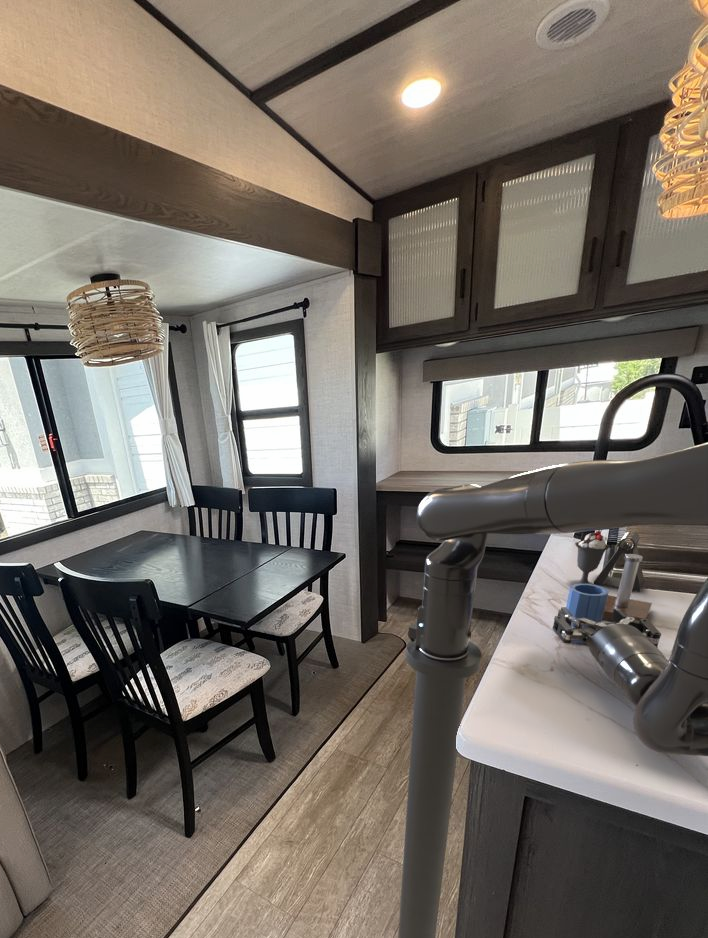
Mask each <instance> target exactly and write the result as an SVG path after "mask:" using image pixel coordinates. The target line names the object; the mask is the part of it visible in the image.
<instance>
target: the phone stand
mask: <svg viewBox="0 0 708 938" xmlns="http://www.w3.org/2000/svg"><path fill="white" fill-rule="evenodd" d="M630 535H631V531H627V532H625V534H624V535H623V536H622V538H621V539H620V540H619V542H618V546H617V549H616V551H615V552H614V554H613V555H612V557H611V558H610V559H609V561H608V562H607V563H606V564H605V566H604V567H603V568H602V569H601V571H600V572H599V573H598V575H597V576H596V578H595V580H594V581H593V582H592V583H593V584H595V585H597V586H600V587H608V588H613V589H615V588H616V589H619V585H620V581H621V577H614V576H609V574H610V573H611V571H612V569H614V567H615V565H616V563H617V561H618V560H619V558H620V557H621V555H622V554H625V555H626V554H637V555H640V553H639V549H638V548H639V547H638V543H639V540H640V534H638V532H637V531H636V532H634V533H633V535H632V536H631V538H630V541H631V542H627V541H626V540H627V539H628V537H629V536H630ZM641 562H642V561H641ZM641 562H639V566H638V570H637V574H636V578H635V581H634V585H633V589H632V592H637V593H640V592H641V591H642V589H643V586H644V584H645V578H644V573H643V568H642V563H641Z"/></svg>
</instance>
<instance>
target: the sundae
mask: <svg viewBox="0 0 708 938" xmlns="http://www.w3.org/2000/svg"><path fill="white" fill-rule="evenodd" d="M602 531H603V530H597V531H594V532H590V533H588V534H587V533H585V532H581V536H580V540H579V541H577V542H574V545H575V547H576V548H577V560H576V562H577V564H576V565H577V567H578V568H579V570H580V571H582V575H581V579H580V580H574V581H571V584H570V585H571V586H572V585H575V584H592V585H595V584H594V583H593V582H591V581H589V574H590V573H591V572H594V571H595V570H596V569H598V567H599V565H600V564H601V561H602V559H603V556H604V554H605V552H606V551H608V550H609V549H610V547H611V545H610V544H607V543H606V541H605V540H604V539H603V538H604V536H603V535H602Z"/></svg>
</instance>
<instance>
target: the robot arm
mask: <svg viewBox="0 0 708 938" xmlns="http://www.w3.org/2000/svg"><path fill="white" fill-rule="evenodd" d="M416 509H417V510H416V514H415V515H416V516H415V517H416V518H415V519H416V523H417V525H418V528H419V529H420V531H421V532H422V533H423V534H424V535H425V536H426V537H428V538H430V539H432V540H435V541H439V542H441V544H440V545H439V546H438V547H437V548H436V549H434V550H433V551H431V552H430V553H429V554H428V555H427V556H426V558H425V561H424V574H423V575H424V576H423V589H422V602H421V605H420V606H419V607H418V608H417V615H416V621H415V622H414V623H412V624H411V625H410V626H408V630H407V638H408V639H409V641H410V640H411V641H412V642H413V641H415V639H416V644H415V650H418V651H420V652H421V653H422V654H423V655H424V656H426V657H428V658H430V659H433V660H437V661H443V662H454V661H459V660H462V659H464V658H465V657H466V656H467V655H468V647H469V641H471V639H472V632H471V627H472V619H473V611H474V601H475V594H476V584H477V577H478V576H477V575H478V569H479V565H480V564H481V562H482V561H483V558H484V556H485V552H486V545H487V539H488V534H489V535H490V534H491V535H492V534H495V535H559V534H577V533H585V532H596V531H599V530H600V531H601V530H602V531H606V530H614V529H621V528H626V527H633V526H636V527H637V526H648V525H649V526H650V525H651V526H653V525H654V526H655V525H656V526H657V525H658V526H659V525H660V526H661V525H662V526H663V525H664V526H693V527H694V526H695V527H708V441H707V442H703V443H701V444H696V445H693V446H689V447H687V448H683V449H678V450H674V451H671V452H667V453H662V454H658V455H655V456H650V457H645V458H640V459H630V460H628V459H627V460H619V459H618V460H613V459H595V460H594V459H593V460H592V459H591V460H582V461H576V462H575V461H573V462H568V463H563V464H559V465H552V466H548V467H543V468H540V469H536V470H533V471H532V470H531V471H528V472H523V473H520V474H517V475H513V476H510V477H507V478H503V479H501V480H497V481H495V482H491V483H488V484H484V485H482V486H479V485H478V484H471V483H467V484H461V485H454V486H449V487H443V488H438V489H436V490H433V491H431V492H429V493H427V494H426V495H425V496H424V497H423V498H422V500H421V501H420V502H419V504H418V507H417V508H416ZM612 620H613V621H614V622H594V621H592V620H589V619H586V618H584V617H582V618H577V617H574V616H572V614H571V613H570V611H569V610H568V609H567V608H566V606H565V607H564V606H561V608H560V609H558V612H557V615H555V616H554V618H553V625H552V628H551V629H552V630H553V632H554V633H555V635H557V636H558V638H559V639H560V640H561V641H562V643H564V644H567V645H570V644H572V642H571V641H572V640H581V641H582V642H584V643H586V644H585V645H587V646H588V649H589V651H590V655H592V657H593V658H594V660H595V661H596V662H597V663H598V665H599V666H600V667H601V669H602V670H603V671H604V672H605V674H606V675H607V676H608V677H609V678H610V680H612V682H614V683H615V685H617V687H619V689H620V690H621V692H622V693H623V694H624V695H625V697H626V698H627V699H628V700H629V701H630V702H631V703H632V705H633V706H635V709H634V712H633V729H634V731H635V734H636V736H637V738H638V739H639V741H640V742H641V743H642V744H643V745H644V746H645V747H647V748H648V749H650V750H652V751H654V752H656V753H661V754H665V755H666V754H667V755H682V756H696V757H708V577H707V578H706V579H705V580H704V582H703V584H702V585H701V587H700V589H699V590H698V591H697V593H696V595H694V597H693V599H692V600H691V603H690V604H689V606H688V607H687V609H686V611H685V613H684V615H683V617H682V619H681V621H680V624H679V626H678V629H677V632H676V636H675V639H674V643H673V646H672V649H671V653H670V655H669V659H668V660H667V658H666V656H665V655H664V654H663V652H662V651H661V650H660V649H659V648H658V647H659V643H660V641H661V636H662V633H661V631H660V630H658V629H657V628H656V626H654V625H653V623H652V622H651V621H650V620H648V618H647V619H640V621H637V620H635V618H633V617H629V616H628V615H627V614H626V613H625V612H623V611H621V610H620V609H614V611H613V615H612ZM572 622H574V623H575V627H573V626H571V624H572ZM584 624H586V625H588V626H587V627H586V628H585V629H583V627H584Z"/></svg>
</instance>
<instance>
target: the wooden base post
mask: <svg viewBox="0 0 708 938" xmlns="http://www.w3.org/2000/svg"><path fill="white" fill-rule="evenodd" d="M643 558H644V556H642V555H640V554H639V555H637V554H626V553H625V555H624V558H623V559H624V561H625V562H624V566H623V569H622V574H621V577H620V578H621V581H620V585H619V588H617V593H616V596H615V595H609V594H608V597H607V601H606V605H605V609H604V614H603V618H602V621H607V622H611V623H615V622H614V621H613V620H612V615H613V611H614V609H620V610H621V611H623V612H625V613H626V614H627V615H628V616H629V617H633V618H635V620H637V621H640V619H647V620H648V616H649V614H650V611H651V608H652V604H653V603H652V602H647V601H642V600H636V599H632V598H631V595H632V593H633V591H632V589H633V585H634V581H635V578H636V574H637V570H638V566H639V562H643Z"/></svg>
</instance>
